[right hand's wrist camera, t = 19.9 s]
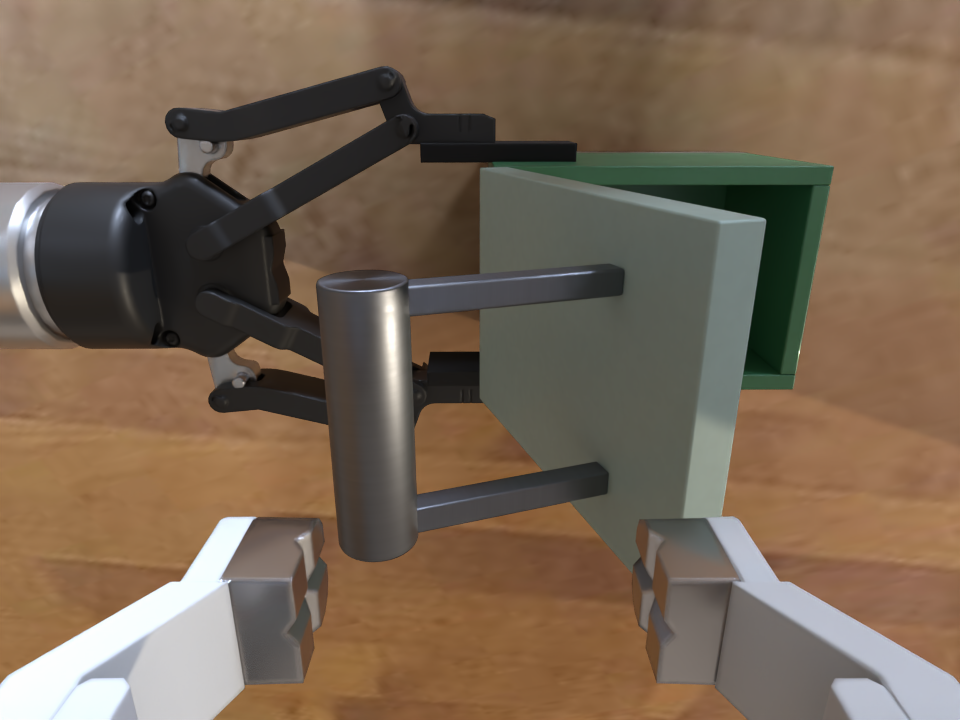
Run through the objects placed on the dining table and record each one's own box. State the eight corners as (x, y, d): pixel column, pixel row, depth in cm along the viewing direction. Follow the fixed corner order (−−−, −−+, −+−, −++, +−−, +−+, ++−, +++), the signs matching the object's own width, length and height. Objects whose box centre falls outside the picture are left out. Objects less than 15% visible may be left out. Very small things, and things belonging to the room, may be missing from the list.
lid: (768, 218, 13) (333, 244, 10) (709, 606, 16) (368, 701, 14) (508, 166, 25) (277, 172, 22) (504, 395, 28) (303, 423, 26)
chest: (739, 151, 35) (835, 165, 26) (717, 323, 38) (794, 390, 29) (487, 151, 35) (492, 165, 25) (486, 324, 38) (491, 391, 29)
